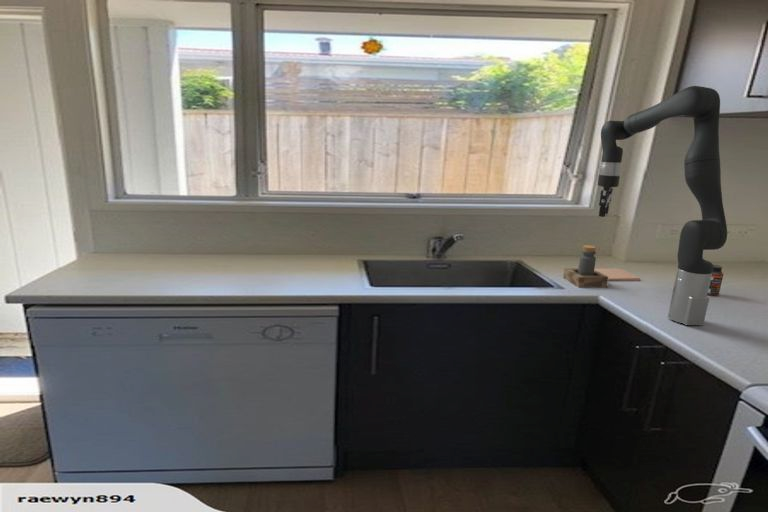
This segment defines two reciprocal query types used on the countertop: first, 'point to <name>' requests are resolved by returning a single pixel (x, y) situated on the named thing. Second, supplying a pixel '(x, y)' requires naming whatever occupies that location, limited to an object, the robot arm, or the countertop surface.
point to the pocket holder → (585, 278)
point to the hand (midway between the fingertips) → (603, 215)
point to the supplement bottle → (715, 281)
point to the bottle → (587, 261)
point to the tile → (617, 275)
